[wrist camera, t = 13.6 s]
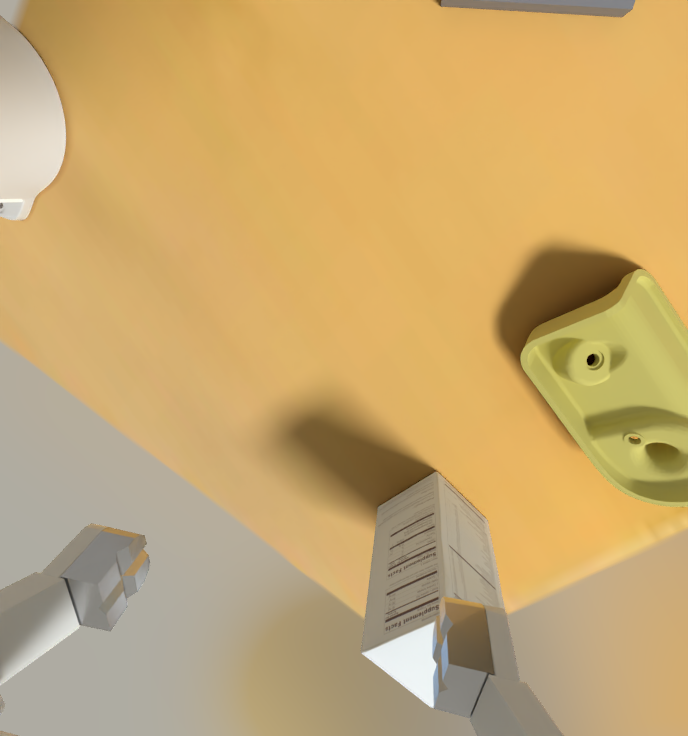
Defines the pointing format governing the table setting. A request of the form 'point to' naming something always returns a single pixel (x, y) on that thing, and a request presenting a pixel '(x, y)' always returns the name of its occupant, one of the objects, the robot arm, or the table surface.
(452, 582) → the supplement box
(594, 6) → the base
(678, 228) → the table surface
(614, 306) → the plastic component
